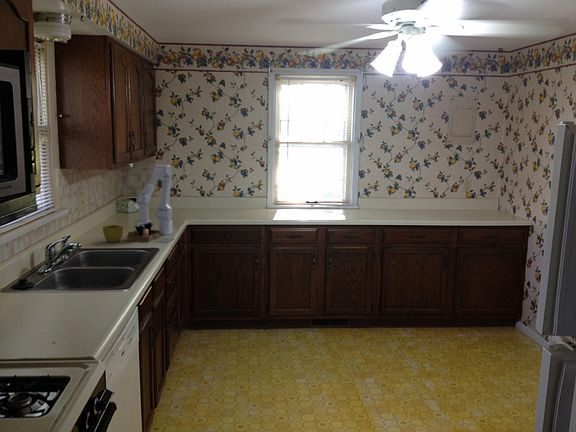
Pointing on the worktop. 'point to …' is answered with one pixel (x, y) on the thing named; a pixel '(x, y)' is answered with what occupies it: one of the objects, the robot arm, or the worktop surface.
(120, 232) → the flower pot
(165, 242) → the rubber mat
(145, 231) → the seedling pot
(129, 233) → the wooden square frame
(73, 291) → the worktop surface
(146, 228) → the robot arm
